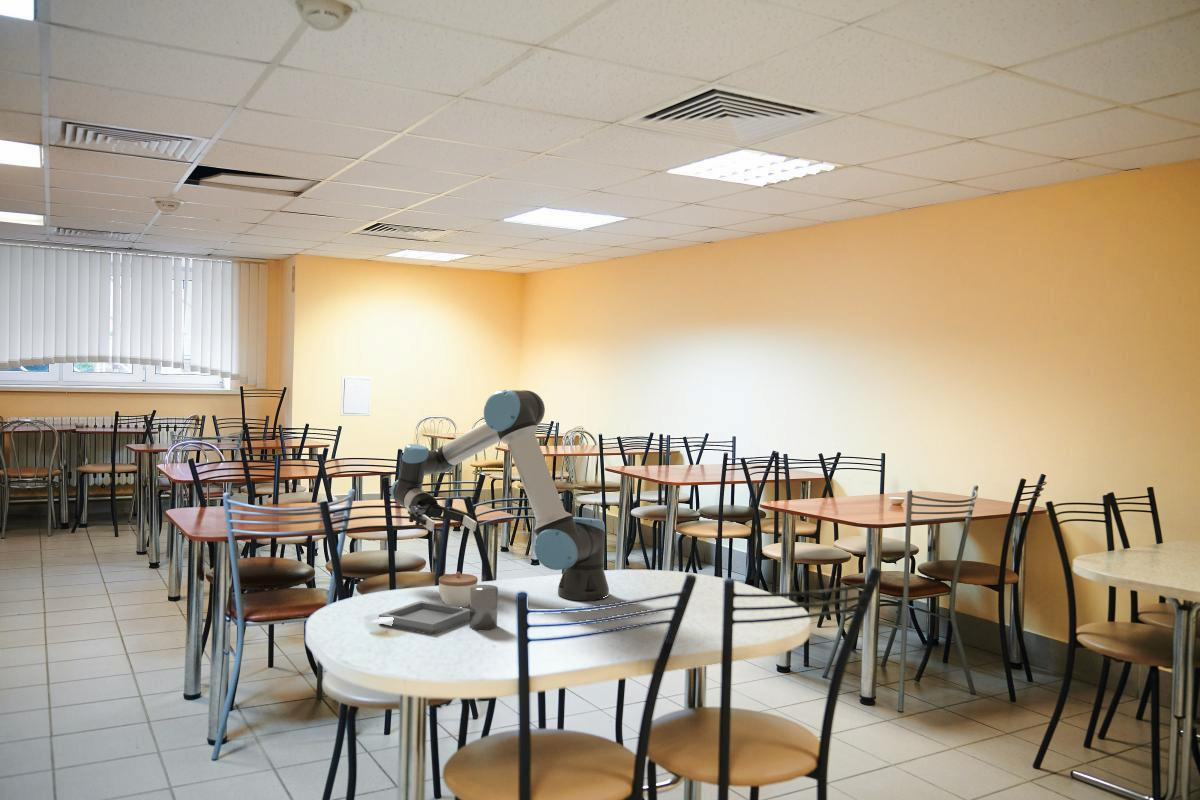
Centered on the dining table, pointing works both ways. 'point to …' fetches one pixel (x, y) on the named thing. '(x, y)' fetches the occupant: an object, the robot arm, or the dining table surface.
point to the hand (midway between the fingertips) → (454, 526)
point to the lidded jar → (456, 589)
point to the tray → (427, 616)
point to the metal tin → (483, 607)
